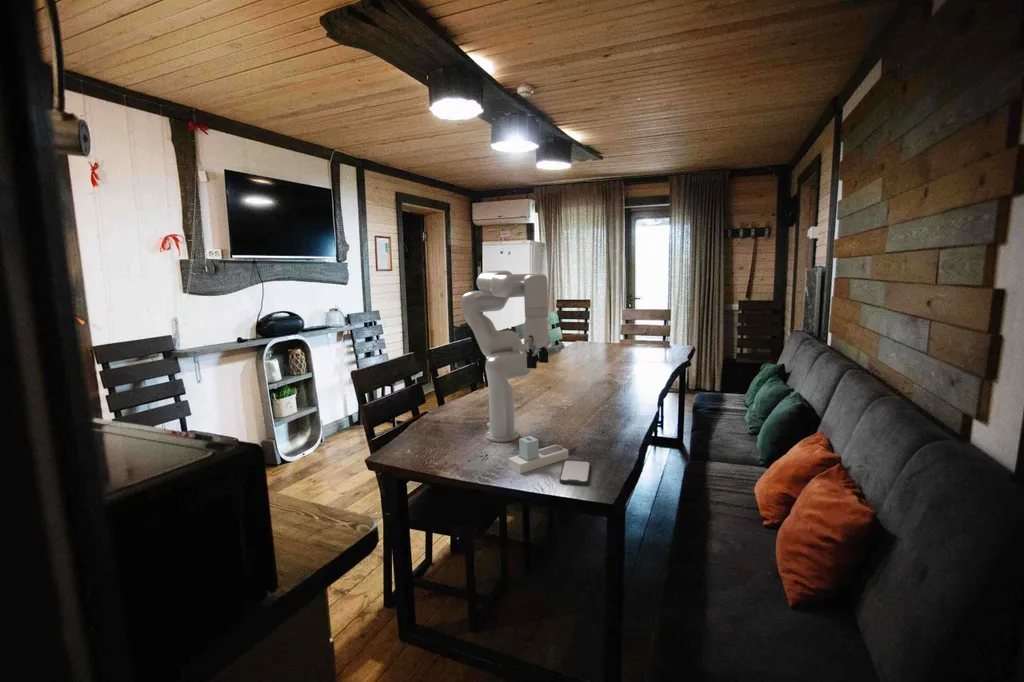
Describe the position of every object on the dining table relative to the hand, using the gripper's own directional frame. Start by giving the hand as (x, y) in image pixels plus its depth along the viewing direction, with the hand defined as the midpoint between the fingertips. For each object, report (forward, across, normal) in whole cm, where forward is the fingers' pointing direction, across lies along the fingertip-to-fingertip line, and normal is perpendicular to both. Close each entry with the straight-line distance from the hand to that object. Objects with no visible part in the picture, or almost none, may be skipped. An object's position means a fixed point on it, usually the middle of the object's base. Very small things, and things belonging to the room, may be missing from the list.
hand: (537, 365), depth 163 cm
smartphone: (+33, +5, +14) cm, 37 cm away
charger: (+31, +6, -2) cm, 31 cm away
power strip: (+32, -1, +2) cm, 32 cm away
